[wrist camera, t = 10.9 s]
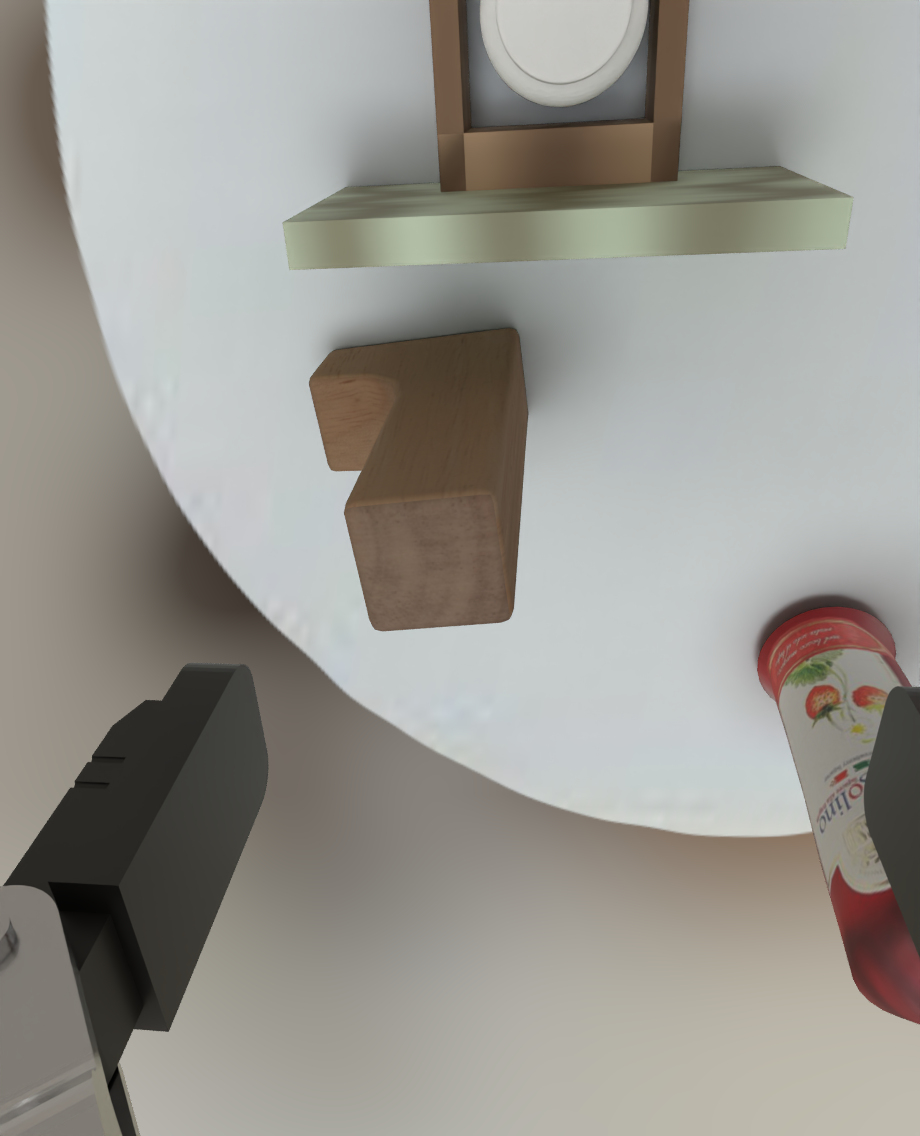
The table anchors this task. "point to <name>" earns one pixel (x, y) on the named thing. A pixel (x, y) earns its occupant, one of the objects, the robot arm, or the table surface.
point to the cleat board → (566, 184)
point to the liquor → (845, 781)
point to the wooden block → (430, 473)
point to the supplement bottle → (561, 45)
